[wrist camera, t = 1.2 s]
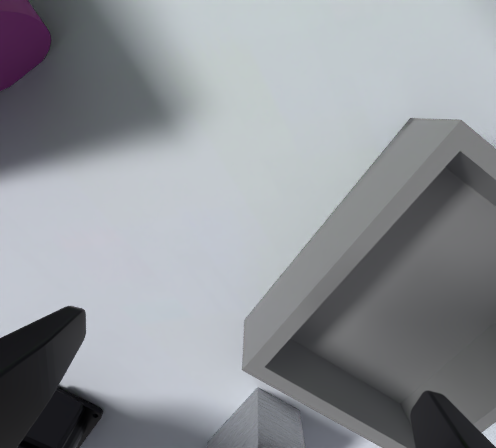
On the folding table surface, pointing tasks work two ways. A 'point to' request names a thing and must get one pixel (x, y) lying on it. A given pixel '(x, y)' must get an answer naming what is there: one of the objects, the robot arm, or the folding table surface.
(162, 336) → the folding table surface
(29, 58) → the mounting bracket
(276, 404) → the grey bevelled block
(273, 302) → the open box
